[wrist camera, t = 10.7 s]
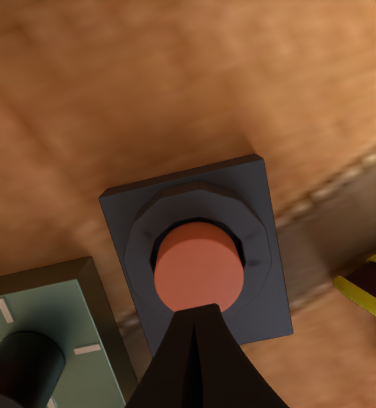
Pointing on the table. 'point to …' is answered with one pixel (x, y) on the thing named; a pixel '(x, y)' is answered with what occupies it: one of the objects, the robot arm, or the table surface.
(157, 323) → the base
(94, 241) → the table surface
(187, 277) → the button
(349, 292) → the opera glasses
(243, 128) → the table surface
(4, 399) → the lock dial
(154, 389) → the robot arm
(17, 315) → the dial panel
